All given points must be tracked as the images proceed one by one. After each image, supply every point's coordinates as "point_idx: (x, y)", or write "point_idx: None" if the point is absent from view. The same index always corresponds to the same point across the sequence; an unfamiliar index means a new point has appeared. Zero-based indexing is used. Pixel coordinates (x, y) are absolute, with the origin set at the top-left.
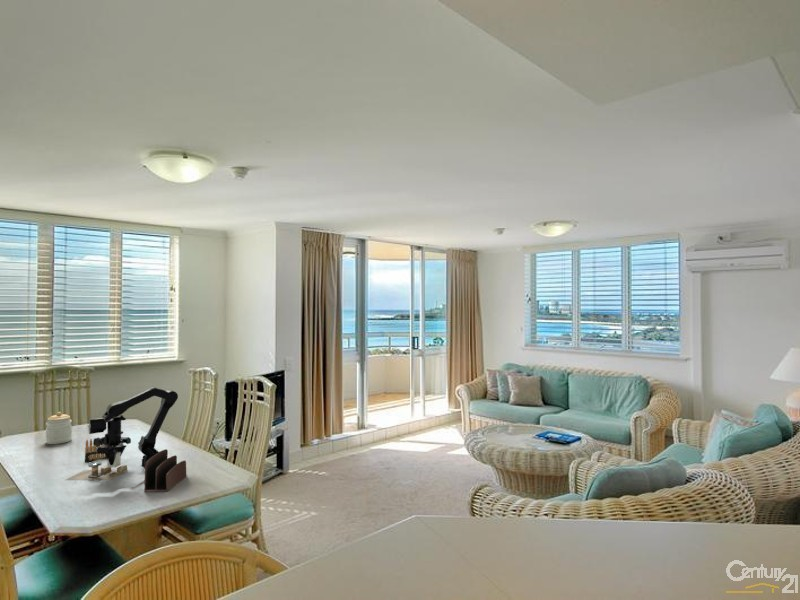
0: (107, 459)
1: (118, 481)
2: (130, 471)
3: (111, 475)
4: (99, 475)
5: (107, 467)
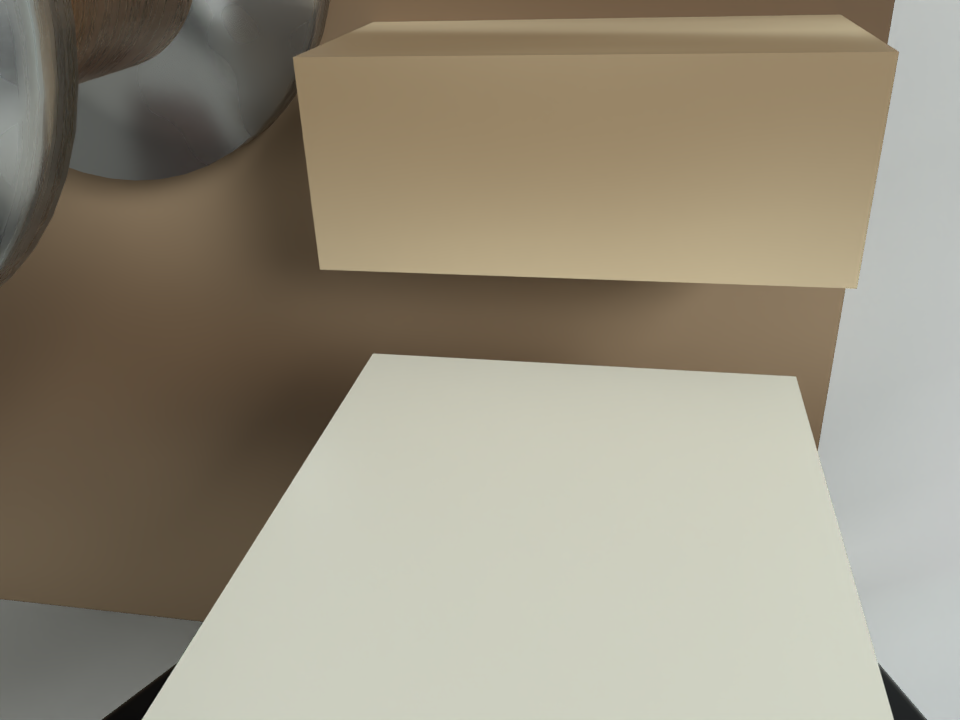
0: (202, 629)
1: (154, 639)
2: (894, 637)
3: (244, 484)
4: (93, 168)
5: (513, 269)
